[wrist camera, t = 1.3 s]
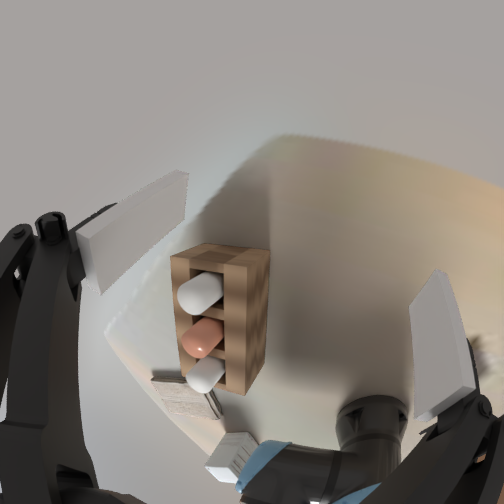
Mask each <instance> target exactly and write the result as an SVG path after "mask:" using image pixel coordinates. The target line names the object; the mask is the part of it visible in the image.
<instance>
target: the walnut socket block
mask: <svg viewBox="0 0 504 504" xmlns="http://www.w3.org/2000/svg"><path fill="white" fill-rule="evenodd" d="M170 261H171V278H172V292H173V304H174V315H175V325H176V334H177V343H178V351H179V358H180V366H181V373H182V376H183V377H186V374H187V373H188V372H189V371H190V370H191V369H192V368H193V366H194V365H195V364H196V363H197V362H198V361H199V360H200V359H201V358H195V357H193V356H191V355H190V354H188V353H187V352H186V350H185V349H184V348H183V345H182V342H181V338H182V335H183V334H184V333H185V332H186V331H187V330H188V329H190V328H191V327H192V326H193V325H195V324H196V323H197V322H198V321H199V320H201V319H202V318H203V317H204V316H207V317H212V318H216V319H221V320H224V334H225V337H224V338H223V339H222V340H221V341H220V342H219V343H218V344H217V345H216V346H215V347H214V348H213V349H212V350H211V352H210V353H209V354H208V355H210V356H213V357H217V358H221V359H224V360H225V370H226V371H225V373H224V374H223V375H222V376H221V378H220V379H219V380H218V382H217V383H216V384H215V385H214V387H216V388H219V389H222V390H226V391H229V392H233V393H236V394H240V395H243V396H245V395H246V393H247V391H248V390H249V388H250V387H251V385H252V383H253V382H254V380H255V378H256V377H257V375H258V373H259V371H260V370H261V368H262V366H263V365H264V359H265V342H266V324H267V306H268V286H269V264H270V250H262V249H252V248H243V247H234V246H225V245H215V244H206V243H204V244H201V245H198V246H196V247H193V248H191V249H188V250H185V251H183V252H180V253H177V254H175V255H172V256H170ZM205 271H212V272H218V273H224V296H223V297H221V298H220V299H219V300H218V301H216V302H215V303H214V304H212V305H211V306H210V307H209V308H207V309H206V310H205V311H204V312H202V313H201V314H199V315H192V314H189V313H187V312H186V311H185V310H183V308H182V307H181V306H180V304H179V302H178V298H177V292H178V289H179V287H180V286H181V285H182V284H184V283H186V282H187V281H189V280H191V279H193V278H195V277H196V276H198V275H200V274H202V273H204V272H205Z"/></svg>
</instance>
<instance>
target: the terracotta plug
mask: <svg viewBox="0 0 504 504" xmlns="http://www.w3.org/2000/svg"><path fill="white" fill-rule="evenodd" d="M224 337H225V334H224V320H221V319H216V318H212V317H207V316H204V317H203V318H202V319H201V320H199V321H198V322H197V323H196V324H195V325H193V326H192V327H191V328H190V329H188V330H187V331H186V332H185V333H184V334H183V335H182V338H181V342H182V345H183V348H184V349H185V350H186V352H187V353H188V354H190V355H191V356H193V357H195V358H204V357H206V356H207V355H208V354H209V353H210V352H211V350H212V349H213V348H214V347H215V346H216V345H217V344H218V343H219V342H220V341H221V340H222V339H223V338H224Z"/></svg>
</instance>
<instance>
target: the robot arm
mask: <svg viewBox="0 0 504 504" xmlns="http://www.w3.org/2000/svg"><path fill="white" fill-rule="evenodd" d="M187 184H188V173H185V172H182V171H179V170H175V171H173V172H171V173H169V174H167V175H165V176H164V177H162V178H160V179H158V180H156V181H155V182H153V183H151V184H149V185H148V186H146V187H144V188H142V189H141V190H139V191H137V192H136V193H134V194H132V195H130V196H129V197H127V198H126V199H124V200H122V201H121V202H119V203H114V204H111V205H108V206H105V207H104V208H102V209H100V210H99V211H98V212H97V213H94V214H93V215H91V217H88V218H87V219H85V220H84V221H82V222H81V223H79V224H78V225H76V226H75V227H73V228H72V229H71V230H69V231H68V229H67V224H66V218H65V215H64V214H63V213H61V212H49V213H46V214H44V215H42V216H41V217H39V218H38V219H37V220H36V222H35V226H36V230H37V234H38V236H35V235H34V234H33V230H32V227H31V226H30V225H29V224H19V225H17V226H15V227H14V228H12V229H11V230H10V231H9V232H8V233H7V235H6V236H5V237H4V239H3V240H2V241H1V243H0V406H1V402H2V397H3V393H4V389H5V385H6V382H7V378H8V384H7V386H8V387H7V413H6V418H5V420H4V421H2V422H0V482H1V488H2V493H0V504H146V503H144V502H143V501H141V500H139V499H137V498H135V497H134V496H132V495H130V494H120V493H117V492H113V491H109V490H103V489H99V486H98V483H97V478H96V474H95V470H94V466H93V462H92V460H91V457H90V455H89V453H88V451H87V449H86V446H85V443H84V436H83V429H82V421H81V411H80V400H79V385H78V384H79V383H78V331H79V313H80V300H81V291H82V286H81V281H82V280H83V279H84V278H85V277H86V279H87V283H88V286H89V288H91V289H92V290H94V291H95V292H97V293H98V294H100V295H102V294H103V293H104V292H105V291H106V290H107V289H108V288H109V287H110V286H111V285H112V284H113V283H115V282H116V281H117V280H118V279H119V278H120V277H121V276H122V275H123V274H124V273H125V272H126V271H127V270H128V269H129V268H130V267H131V266H132V265H133V264H134V263H136V262H137V261H138V260H139V259H140V258H141V257H142V256H143V255H144V254H145V253H146V252H148V251H149V250H150V249H151V248H152V247H153V246H154V245H156V244H157V243H158V242H159V241H160V240H161V239H162V238H163V237H164V236H166V235H167V234H168V233H169V232H170V231H172V230H173V229H174V228H175V227H176V226H177V225H178V224H180V223H181V222H182V221H183V220H184V215H185V204H186V193H187ZM16 269H18V271H19V274H20V275H19V277H18V278H17V279H16V277H15V275H14V272H15V270H16ZM409 315H410V323H411V333H412V345H413V361H414V420H419V421H426V422H428V421H429V420H431V419H433V418H434V417H436V416H437V415H438V422H437V423H435V424H433V425H432V426H430V427H428V428H426V429H425V430H423V431H421V432H420V433H419V434H420V435H421V434H423V433H425V432H427V433H426V434H425V435H424V437H422V439H421V440H420V442H419V443H418V444H417V445H416V447H415V448H414V449H413V450H412V451H411V452H410V454H409V455H408V456H407V457H406V458H405V459H404V460H403V461H402V463H401V442H402V439H403V436H404V433H405V430H406V427H407V424H408V415H407V409H406V407H405V405H404V404H403V403H402V402H401V401H399V400H397V399H395V398H392V397H389V396H369V397H364V398H361V399H358V400H356V401H354V402H352V403H350V404H348V405H347V406H346V407H344V408H343V409H342V411H341V412H340V413H339V415H338V417H337V422H336V434H337V438H338V442H339V446H340V451H336V450H329V449H321V448H314V447H308V446H302V445H297V444H292V442H281V441H275V440H267V441H264V442H263V443H261V444H260V445H259V446H258V447H257V448H256V449H255V450H254V451H253V453H252V454H251V456H250V457H249V459H248V460H247V462H246V463H245V465H244V467H243V469H242V471H241V473H240V475H239V477H238V481H237V483H236V486H235V488H236V490H237V491H238V492H239V493H241V494H243V495H242V497H241V499H240V504H497V501H498V498H499V496H500V493H501V490H502V487H503V483H504V414H503V415H502V416H501V417H499V418H497V417H496V416H494V415H493V414H492V407H491V403H490V401H489V400H488V398H487V397H486V396H484V395H482V394H481V395H480V388H479V381H478V375H477V369H476V368H475V366H476V364H475V360H474V354H473V350H472V347H471V345H470V343H469V341H468V339H467V338H466V334H465V331H464V327H463V323H462V319H461V316H460V312H459V309H458V305H457V302H456V299H455V296H454V293H453V290H452V287H451V284H450V281H449V278H448V276H447V274H446V273H444V272H442V271H440V270H438V269H435V271H434V272H433V274H432V275H431V277H430V278H429V279H428V281H427V282H426V284H425V285H424V287H423V288H422V289H421V291H420V292H419V293H418V295H417V296H416V297H415V299H414V300H413V301H412V303H411V304H410V305H409ZM484 454H486V456H485V459H484V460H483V461H481V462H478V463H477V459H478V457H480V456H482V455H484Z"/></svg>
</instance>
